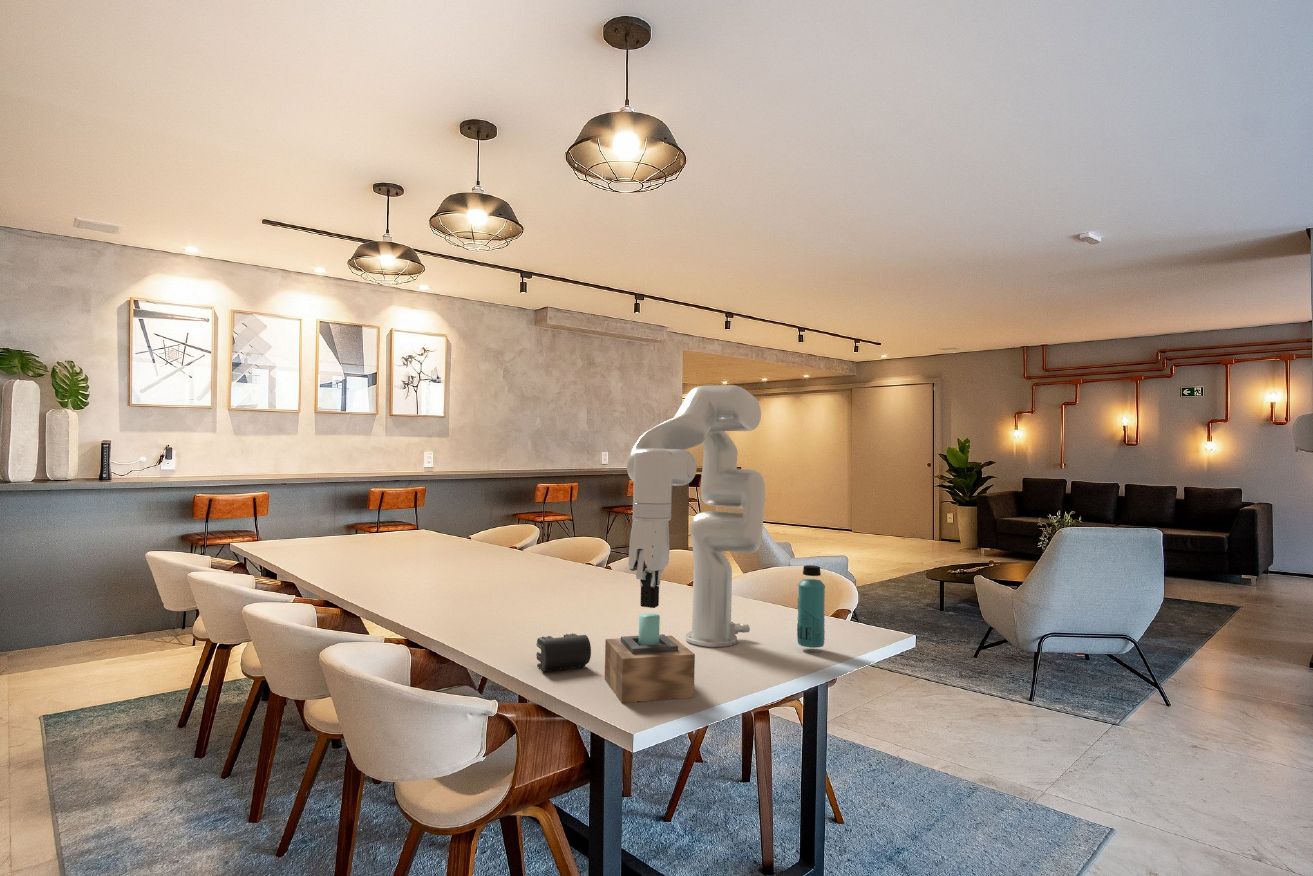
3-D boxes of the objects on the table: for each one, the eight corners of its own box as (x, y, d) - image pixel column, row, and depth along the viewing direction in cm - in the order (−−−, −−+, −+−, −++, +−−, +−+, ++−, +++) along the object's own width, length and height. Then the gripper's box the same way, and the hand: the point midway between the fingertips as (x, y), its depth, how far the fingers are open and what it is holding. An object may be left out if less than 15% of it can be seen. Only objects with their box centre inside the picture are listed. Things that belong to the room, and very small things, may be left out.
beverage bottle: (827, 649, 168) (828, 564, 169) (821, 656, 162) (823, 568, 163) (800, 645, 171) (801, 562, 172) (793, 652, 165) (795, 566, 166)
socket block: (670, 674, 146) (671, 630, 146) (693, 697, 133) (695, 649, 133) (604, 679, 142) (605, 634, 142) (621, 703, 129) (622, 653, 129)
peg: (655, 658, 140) (656, 612, 140) (661, 664, 136) (662, 617, 136) (635, 659, 139) (636, 613, 139) (641, 665, 135) (642, 618, 135)
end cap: (545, 676, 143) (546, 643, 143) (534, 667, 149) (535, 634, 149) (591, 670, 148) (591, 638, 148) (578, 661, 154) (579, 630, 154)
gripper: (649, 509, 146) (647, 598, 146) (617, 513, 133) (615, 611, 132) (683, 511, 144) (681, 601, 143) (654, 515, 130) (651, 616, 129)
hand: (649, 606), depth 138 cm, fingers closed
